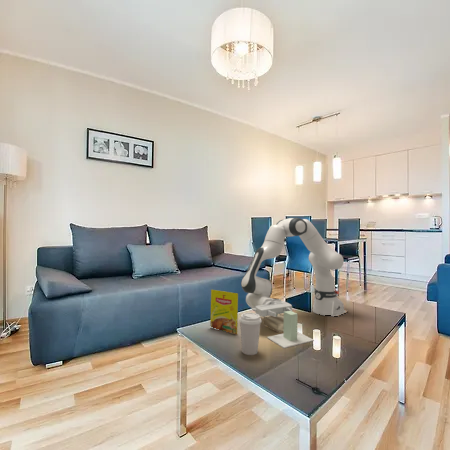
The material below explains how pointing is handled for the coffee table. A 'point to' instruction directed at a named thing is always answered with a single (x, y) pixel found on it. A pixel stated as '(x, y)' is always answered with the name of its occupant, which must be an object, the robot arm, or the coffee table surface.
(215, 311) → the food package
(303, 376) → the coffee table surface
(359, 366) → the coffee table surface
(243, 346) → the coffee cup
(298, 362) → the coffee table surface
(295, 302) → the coffee table surface
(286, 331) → the sage green pillar
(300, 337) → the rubber mat
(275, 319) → the plate
